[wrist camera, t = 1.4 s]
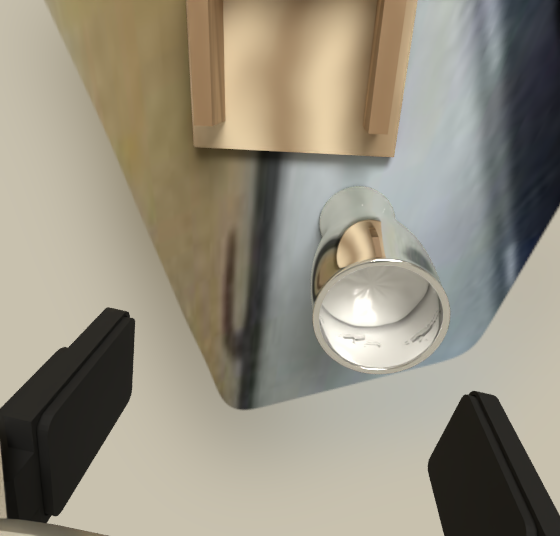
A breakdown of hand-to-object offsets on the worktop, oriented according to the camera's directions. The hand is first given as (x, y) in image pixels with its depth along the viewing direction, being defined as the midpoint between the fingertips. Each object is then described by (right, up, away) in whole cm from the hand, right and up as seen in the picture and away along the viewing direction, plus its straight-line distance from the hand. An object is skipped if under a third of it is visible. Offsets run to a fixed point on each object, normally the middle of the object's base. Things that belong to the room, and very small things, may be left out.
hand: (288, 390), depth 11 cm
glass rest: (+1, +19, +17) cm, 25 cm away
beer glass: (+6, +7, +22) cm, 24 cm away
